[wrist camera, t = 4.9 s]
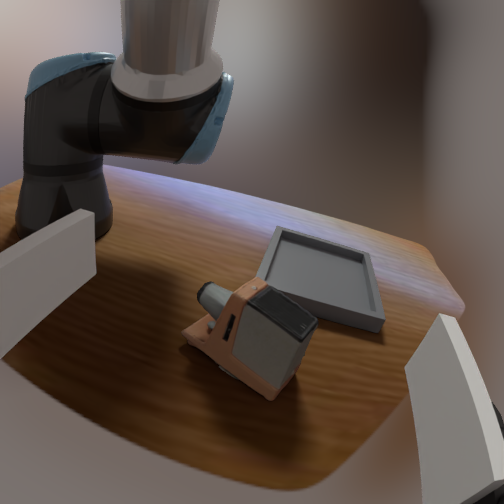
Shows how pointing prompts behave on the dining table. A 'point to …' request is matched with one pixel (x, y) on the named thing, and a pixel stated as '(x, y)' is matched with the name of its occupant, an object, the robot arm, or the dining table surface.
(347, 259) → the dock tray
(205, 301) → the electronic device
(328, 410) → the dining table surface
